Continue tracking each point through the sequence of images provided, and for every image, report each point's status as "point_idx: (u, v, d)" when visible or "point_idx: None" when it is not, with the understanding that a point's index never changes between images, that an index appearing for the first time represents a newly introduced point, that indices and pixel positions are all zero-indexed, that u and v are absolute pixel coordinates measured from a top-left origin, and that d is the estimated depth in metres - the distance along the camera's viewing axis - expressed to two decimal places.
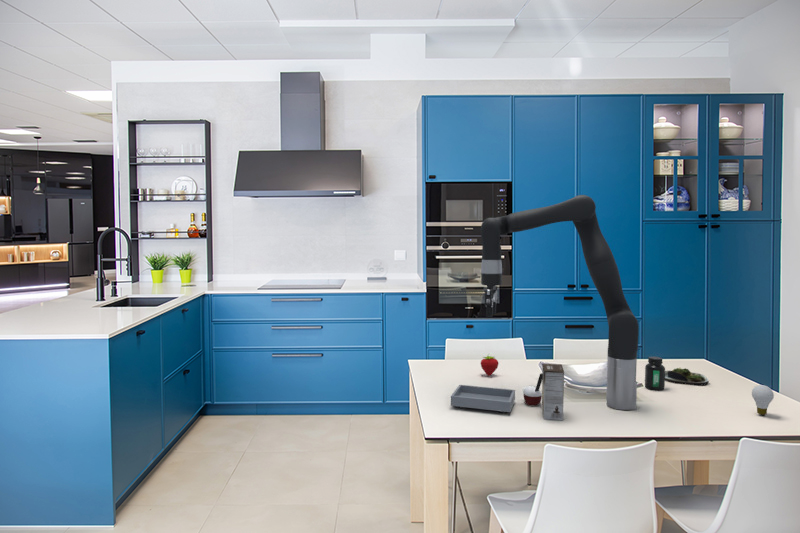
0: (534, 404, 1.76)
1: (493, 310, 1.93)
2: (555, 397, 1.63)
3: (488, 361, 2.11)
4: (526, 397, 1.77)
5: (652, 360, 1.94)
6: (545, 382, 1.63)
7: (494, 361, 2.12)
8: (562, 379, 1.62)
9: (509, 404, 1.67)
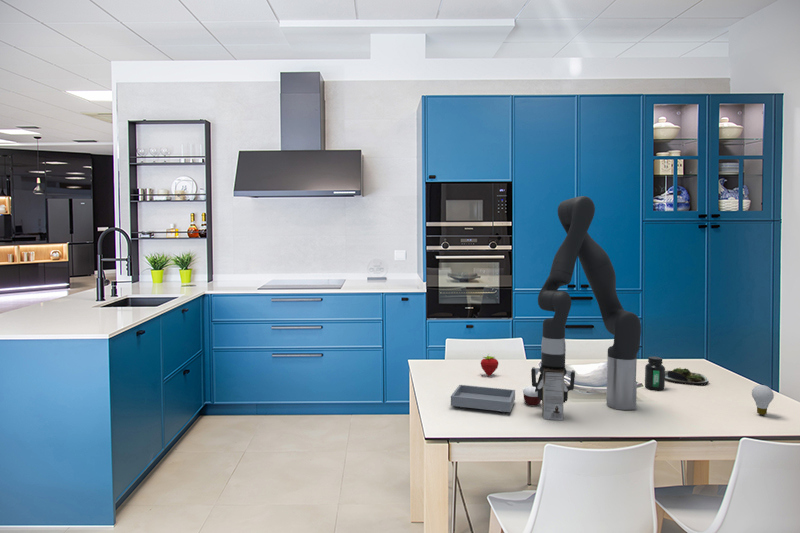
0: (534, 404, 1.76)
1: None
2: (555, 397, 1.63)
3: (488, 361, 2.11)
4: (526, 397, 1.77)
5: (652, 360, 1.94)
6: (545, 382, 1.63)
7: (494, 361, 2.12)
8: (562, 379, 1.62)
9: (509, 404, 1.67)
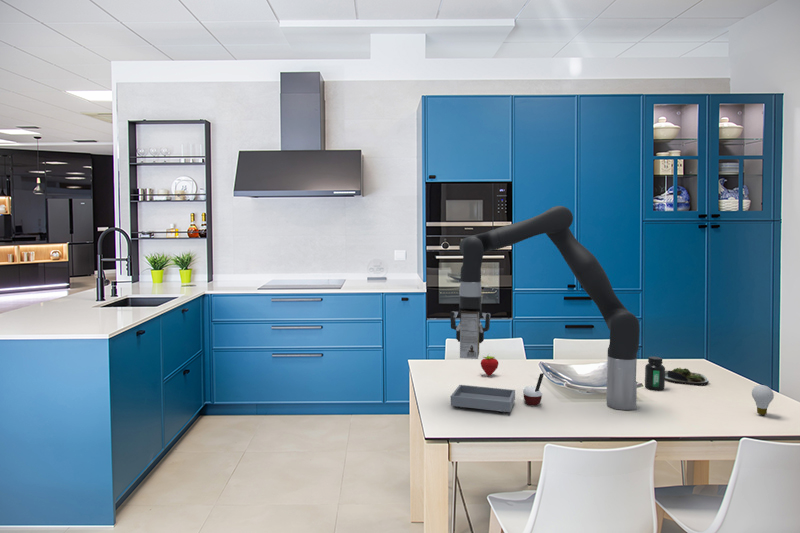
0: (534, 404, 1.76)
1: None
2: (470, 336, 1.73)
3: (488, 361, 2.11)
4: (526, 397, 1.77)
5: (652, 360, 1.94)
6: (461, 323, 1.73)
7: (494, 361, 2.12)
8: (476, 320, 1.72)
9: (509, 404, 1.67)
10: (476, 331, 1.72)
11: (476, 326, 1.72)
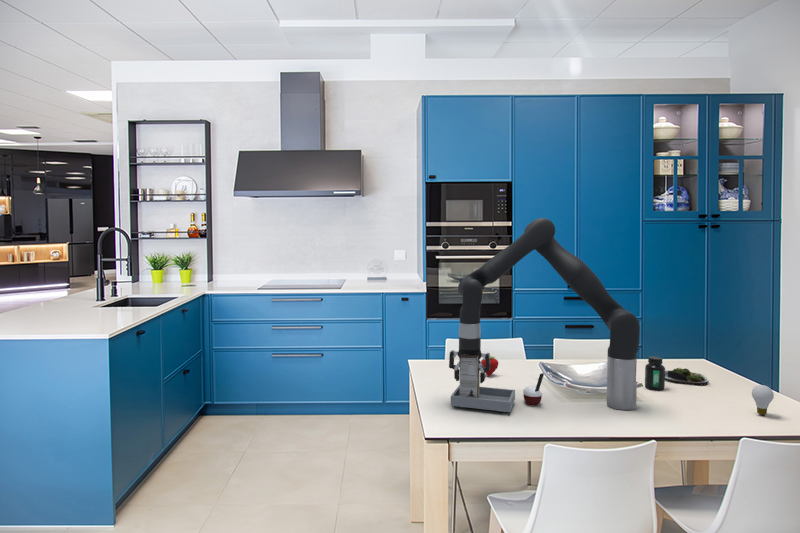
0: (534, 404, 1.76)
1: (458, 376, 1.80)
2: (469, 380, 1.73)
3: None
4: (526, 397, 1.77)
5: (652, 360, 1.94)
6: (460, 367, 1.74)
7: (494, 361, 2.12)
8: (475, 364, 1.73)
9: (509, 404, 1.67)
10: (475, 375, 1.73)
11: (475, 370, 1.73)
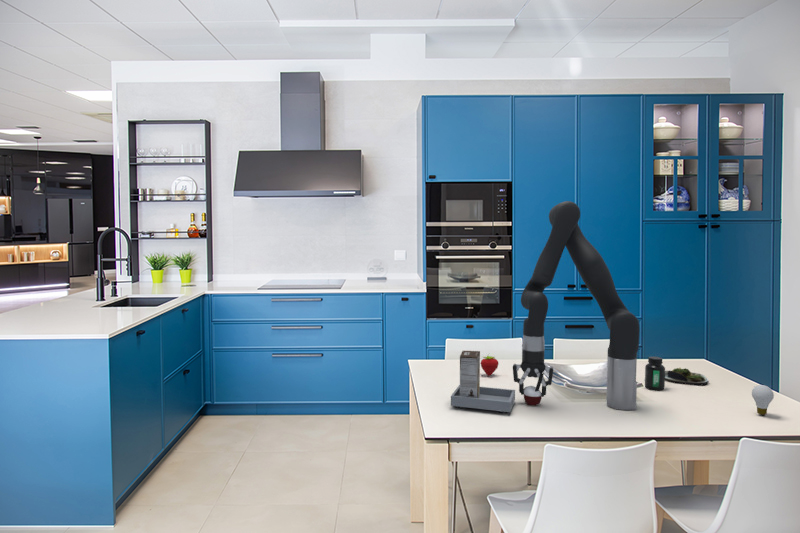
0: (534, 404, 1.76)
1: None
2: (470, 381, 1.73)
3: (488, 361, 2.11)
4: (526, 397, 1.77)
5: (652, 360, 1.94)
6: (460, 367, 1.74)
7: (494, 361, 2.12)
8: (476, 364, 1.73)
9: (509, 404, 1.67)
10: (476, 375, 1.73)
11: (476, 370, 1.73)
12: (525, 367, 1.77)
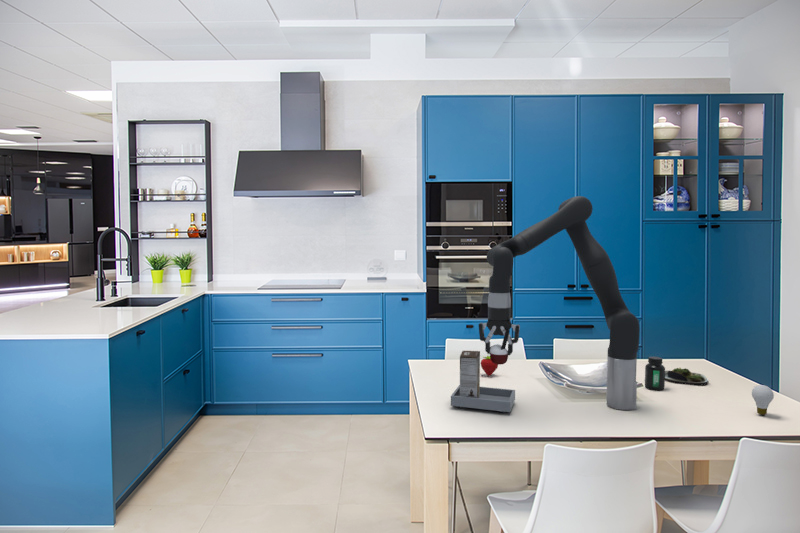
0: (500, 362, 1.72)
1: (489, 349, 1.75)
2: (470, 381, 1.73)
3: (488, 361, 2.11)
4: (492, 355, 1.73)
5: (652, 360, 1.94)
6: (460, 367, 1.74)
7: None
8: (476, 364, 1.73)
9: (509, 404, 1.67)
10: (476, 375, 1.73)
11: (476, 370, 1.73)
12: (491, 325, 1.73)
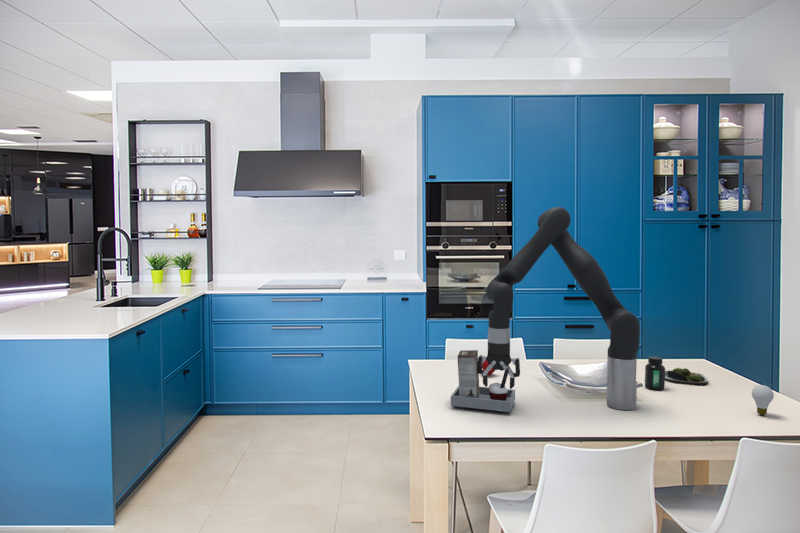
0: None
1: (487, 381, 1.76)
2: (469, 380, 1.74)
3: None
4: (491, 394, 1.74)
5: (652, 360, 1.94)
6: (459, 367, 1.74)
7: None
8: (474, 363, 1.73)
9: (509, 404, 1.67)
10: (474, 374, 1.73)
11: (474, 369, 1.73)
12: (490, 360, 1.74)
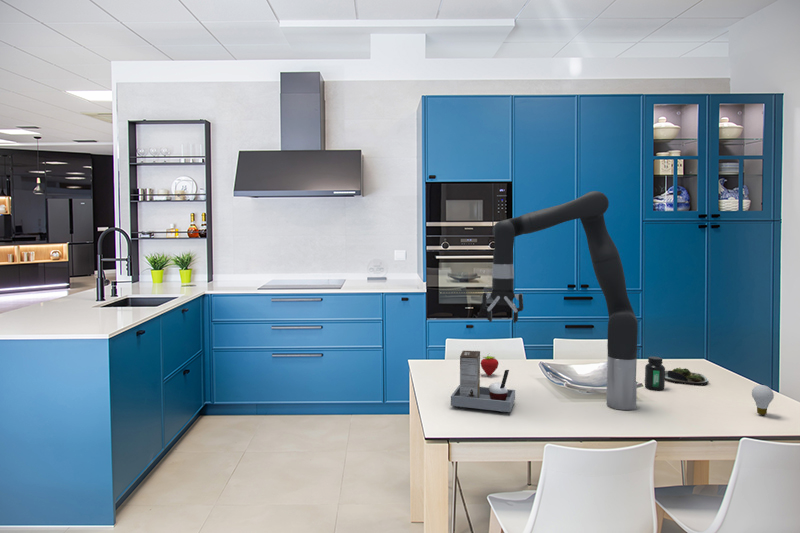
0: None
1: (491, 317, 1.84)
2: (470, 381, 1.73)
3: (488, 361, 2.11)
4: (491, 394, 1.74)
5: (652, 360, 1.94)
6: (461, 367, 1.74)
7: (494, 361, 2.12)
8: (476, 364, 1.73)
9: (509, 404, 1.67)
10: (476, 375, 1.73)
11: (476, 370, 1.73)
12: (495, 296, 1.81)
